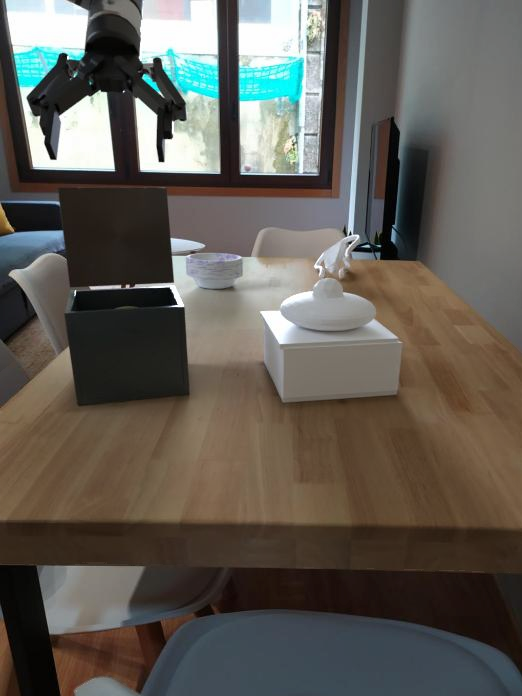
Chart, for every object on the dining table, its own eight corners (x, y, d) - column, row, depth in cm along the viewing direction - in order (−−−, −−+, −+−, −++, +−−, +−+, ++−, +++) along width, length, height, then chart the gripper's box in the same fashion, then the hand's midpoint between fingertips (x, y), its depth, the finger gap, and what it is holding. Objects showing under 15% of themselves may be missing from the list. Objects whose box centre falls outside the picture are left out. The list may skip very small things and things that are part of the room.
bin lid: (166, 187, 83) (166, 188, 84) (57, 187, 79) (58, 187, 80) (174, 282, 86) (173, 282, 87) (69, 287, 82) (70, 287, 83)
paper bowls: (248, 281, 154) (248, 252, 151) (235, 293, 140) (235, 262, 137) (196, 278, 156) (195, 250, 153) (179, 290, 142) (177, 259, 139)
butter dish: (397, 394, 81) (408, 289, 75) (279, 403, 78) (280, 293, 72) (359, 355, 97) (366, 266, 91) (260, 361, 94) (260, 268, 88)
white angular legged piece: (373, 277, 152) (371, 250, 170) (355, 251, 149) (355, 226, 167) (324, 308, 159) (327, 279, 177) (306, 284, 155) (311, 257, 174)
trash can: (189, 394, 80) (184, 306, 75) (77, 405, 76) (63, 313, 71) (179, 363, 92) (174, 285, 87) (81, 371, 88) (70, 290, 83)
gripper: (12, 7, 72) (-10, 126, 64) (201, 17, 75) (203, 132, 67) (31, 60, 79) (13, 172, 71) (204, 67, 82) (205, 176, 74)
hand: (106, 153), depth 69 cm, fingers open, 13 cm apart
